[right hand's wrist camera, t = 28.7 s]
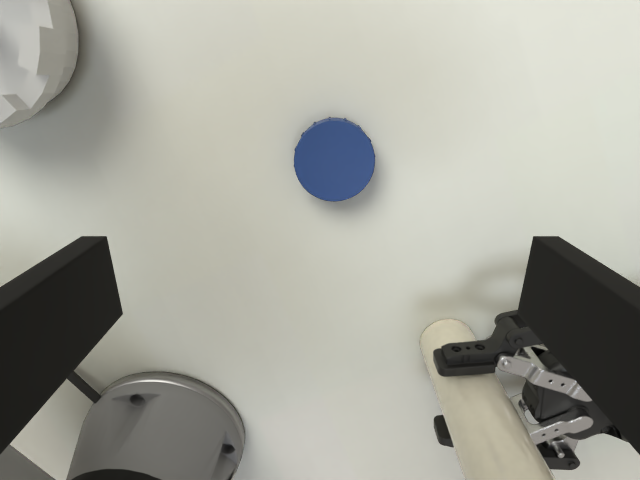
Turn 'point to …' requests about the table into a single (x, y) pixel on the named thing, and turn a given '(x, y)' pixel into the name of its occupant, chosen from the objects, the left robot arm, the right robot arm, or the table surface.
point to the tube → (481, 416)
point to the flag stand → (34, 55)
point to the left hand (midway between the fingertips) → (436, 398)
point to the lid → (334, 159)
